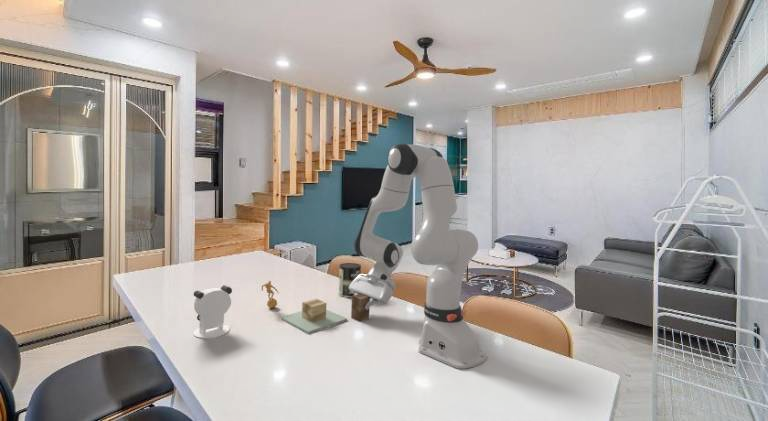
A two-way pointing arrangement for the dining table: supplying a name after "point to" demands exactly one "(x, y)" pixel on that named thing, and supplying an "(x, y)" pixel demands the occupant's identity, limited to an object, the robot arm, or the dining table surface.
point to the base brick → (314, 310)
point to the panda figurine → (212, 311)
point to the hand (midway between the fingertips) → (359, 306)
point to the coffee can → (347, 277)
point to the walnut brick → (359, 307)
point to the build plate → (311, 327)
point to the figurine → (271, 301)
